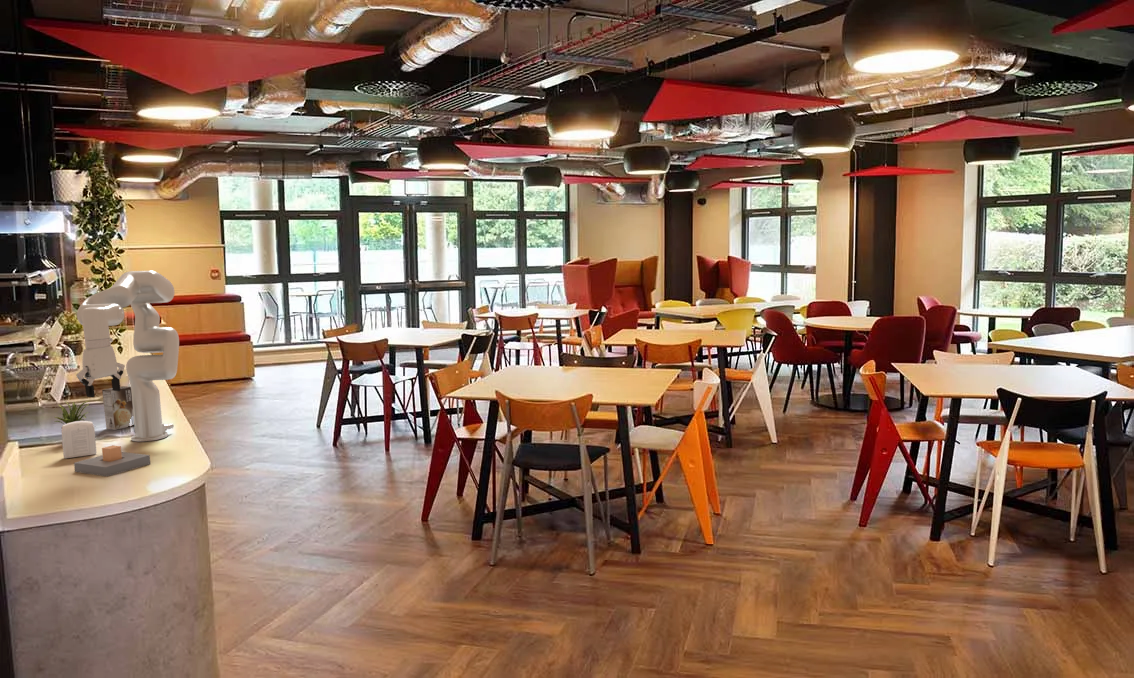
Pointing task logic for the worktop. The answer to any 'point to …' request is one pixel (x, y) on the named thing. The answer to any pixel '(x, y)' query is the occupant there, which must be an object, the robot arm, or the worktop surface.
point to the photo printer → (78, 439)
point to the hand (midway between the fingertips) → (103, 393)
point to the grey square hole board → (112, 464)
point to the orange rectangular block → (111, 453)
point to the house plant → (71, 413)
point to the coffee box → (117, 407)
